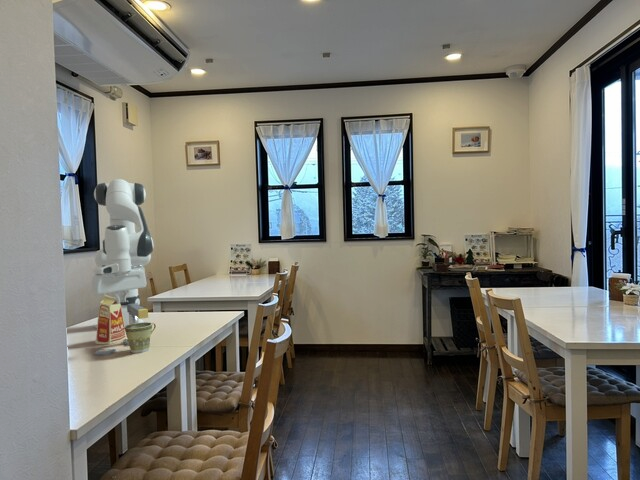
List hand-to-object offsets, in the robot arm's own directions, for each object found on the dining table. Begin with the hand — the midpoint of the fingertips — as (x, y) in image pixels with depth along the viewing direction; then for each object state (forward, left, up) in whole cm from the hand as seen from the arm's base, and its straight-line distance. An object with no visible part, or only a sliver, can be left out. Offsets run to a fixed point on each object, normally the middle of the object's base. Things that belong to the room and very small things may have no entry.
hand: (121, 302), depth 176 cm
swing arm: (+2, +8, -6) cm, 10 cm away
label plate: (-7, -2, -19) cm, 20 cm away
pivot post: (-4, +13, -19) cm, 24 cm away
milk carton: (-16, +15, -19) cm, 29 cm away
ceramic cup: (+6, +3, -19) cm, 21 cm away
